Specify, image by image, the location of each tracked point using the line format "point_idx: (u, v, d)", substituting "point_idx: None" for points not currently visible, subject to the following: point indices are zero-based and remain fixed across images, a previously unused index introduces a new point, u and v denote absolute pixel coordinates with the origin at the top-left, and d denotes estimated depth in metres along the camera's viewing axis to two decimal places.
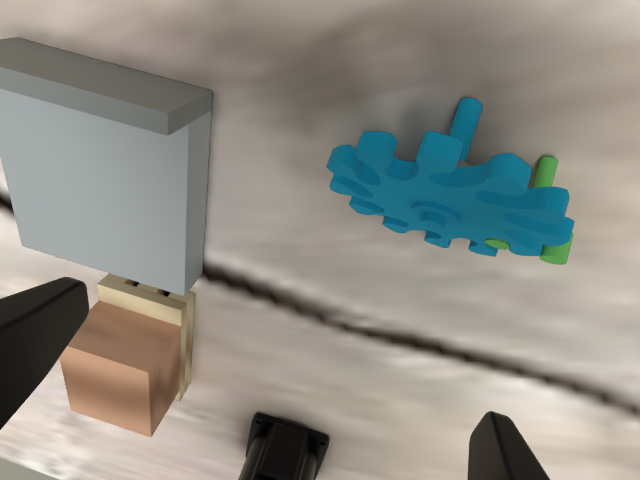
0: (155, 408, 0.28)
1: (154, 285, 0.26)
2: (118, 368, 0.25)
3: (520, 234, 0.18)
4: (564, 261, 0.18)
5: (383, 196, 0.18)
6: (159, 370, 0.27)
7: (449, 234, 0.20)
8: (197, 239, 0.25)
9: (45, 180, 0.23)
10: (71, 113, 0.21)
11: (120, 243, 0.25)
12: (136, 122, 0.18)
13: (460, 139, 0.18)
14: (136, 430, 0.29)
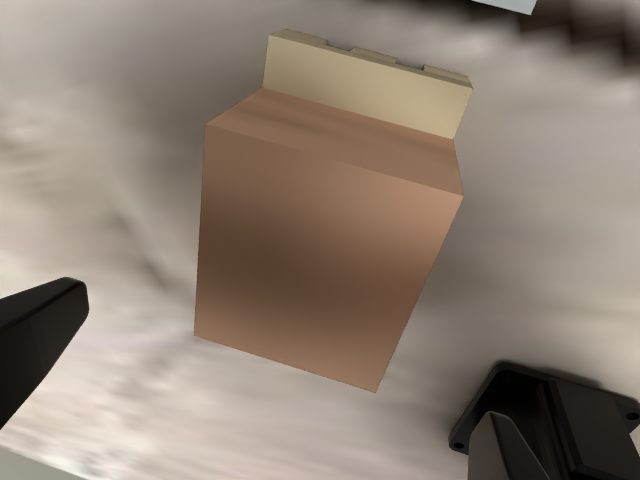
0: None
1: None
2: (372, 192, 0.10)
3: None
4: None
5: None
6: None
7: None
8: None
9: None
10: None
11: None
12: None
13: None
14: (344, 377, 0.13)
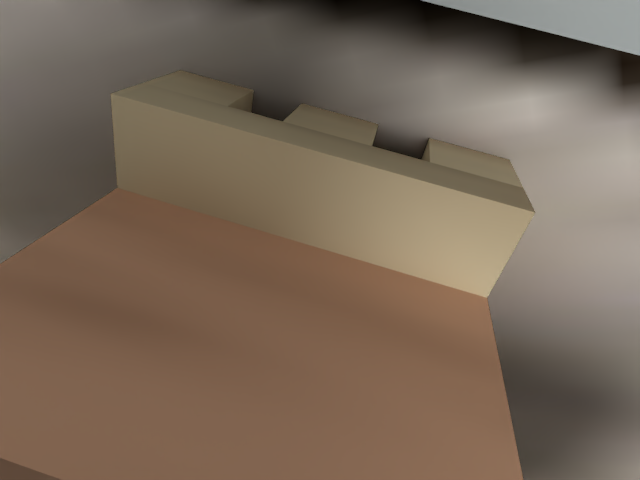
0: None
1: (503, 3, 0.04)
2: None
3: None
4: None
5: None
6: None
7: None
8: None
9: None
10: None
11: None
12: None
13: None
14: None
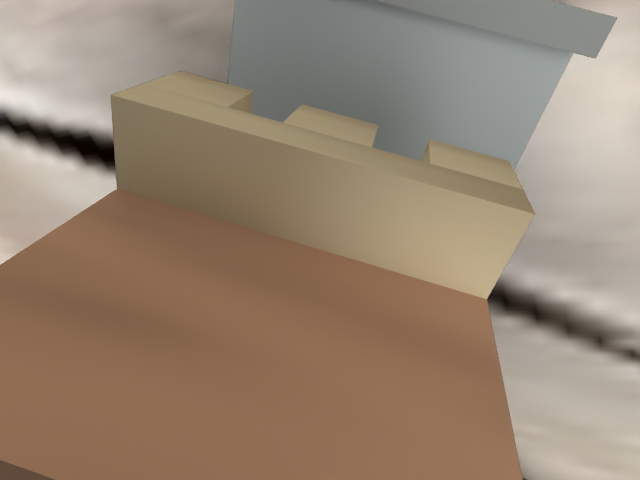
0: None
1: None
2: None
3: None
4: None
5: None
6: None
7: None
8: None
9: None
10: (370, 38, 0.14)
11: None
12: (544, 35, 0.11)
13: None
14: None
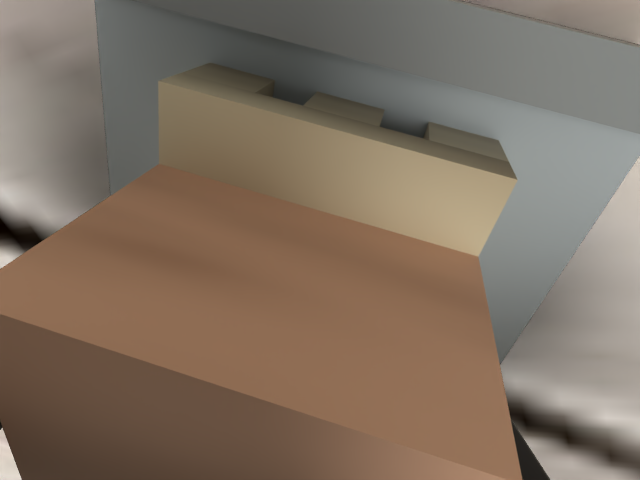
0: None
1: None
2: (319, 448, 0.04)
3: None
4: None
5: None
6: None
7: None
8: None
9: None
10: None
11: None
12: (629, 114, 0.06)
13: None
14: None
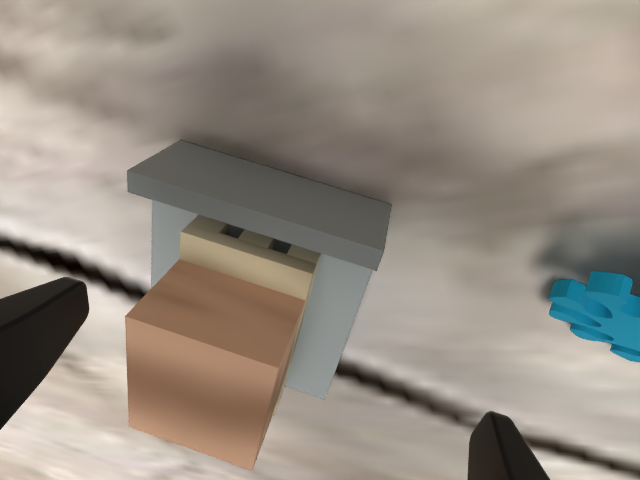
0: (264, 426, 0.18)
1: (293, 387, 0.24)
2: (227, 360, 0.15)
3: None
4: None
5: (625, 323, 0.17)
6: (282, 366, 0.17)
7: None
8: None
9: None
10: None
11: None
12: (343, 255, 0.17)
13: None
14: (230, 459, 0.19)
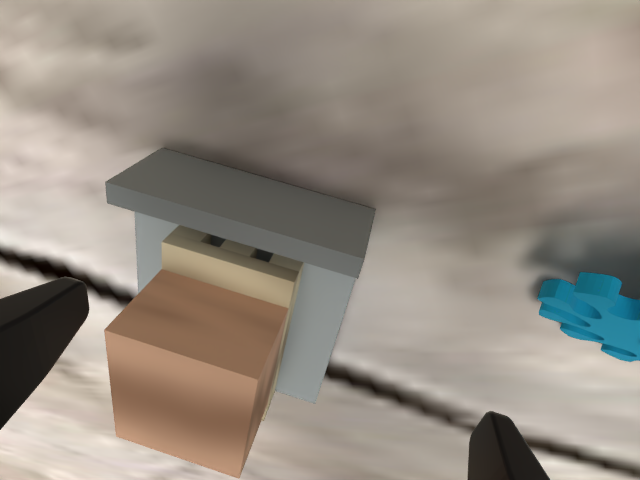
0: (250, 435, 0.18)
1: (283, 392, 0.24)
2: (207, 372, 0.15)
3: None
4: None
5: (614, 323, 0.16)
6: (264, 376, 0.17)
7: None
8: None
9: None
10: None
11: None
12: (323, 264, 0.17)
13: None
14: (217, 467, 0.19)
